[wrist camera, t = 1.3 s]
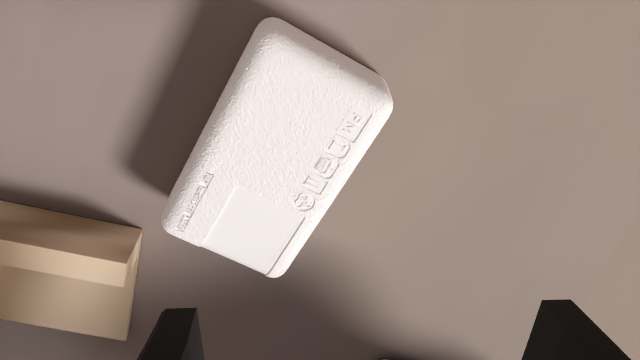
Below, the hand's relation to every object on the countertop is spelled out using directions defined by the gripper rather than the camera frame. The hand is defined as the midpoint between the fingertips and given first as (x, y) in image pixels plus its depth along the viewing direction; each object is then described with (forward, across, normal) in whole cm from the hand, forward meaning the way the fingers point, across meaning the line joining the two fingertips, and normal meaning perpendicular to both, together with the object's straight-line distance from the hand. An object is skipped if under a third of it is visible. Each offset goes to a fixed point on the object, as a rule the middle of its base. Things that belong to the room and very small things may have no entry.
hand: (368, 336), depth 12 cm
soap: (+12, +2, +2) cm, 13 cm away
